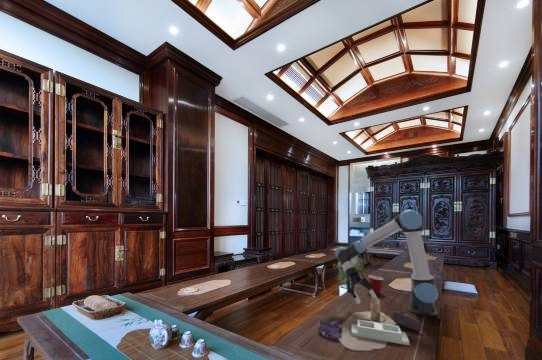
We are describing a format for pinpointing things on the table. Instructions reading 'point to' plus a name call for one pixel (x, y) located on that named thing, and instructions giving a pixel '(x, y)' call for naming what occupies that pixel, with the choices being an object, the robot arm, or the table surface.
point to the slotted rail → (379, 332)
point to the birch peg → (375, 310)
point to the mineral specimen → (331, 329)
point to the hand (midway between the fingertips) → (368, 301)
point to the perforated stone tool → (406, 321)
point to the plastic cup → (376, 283)
